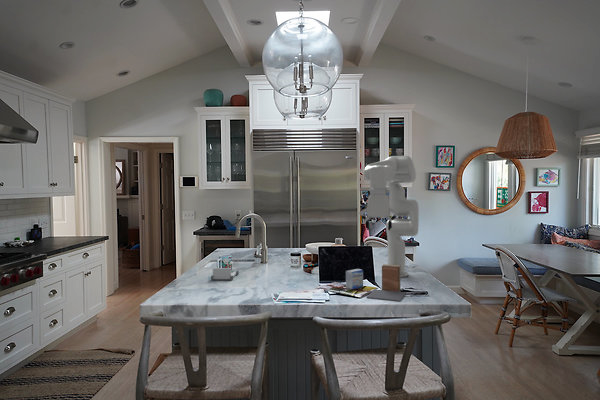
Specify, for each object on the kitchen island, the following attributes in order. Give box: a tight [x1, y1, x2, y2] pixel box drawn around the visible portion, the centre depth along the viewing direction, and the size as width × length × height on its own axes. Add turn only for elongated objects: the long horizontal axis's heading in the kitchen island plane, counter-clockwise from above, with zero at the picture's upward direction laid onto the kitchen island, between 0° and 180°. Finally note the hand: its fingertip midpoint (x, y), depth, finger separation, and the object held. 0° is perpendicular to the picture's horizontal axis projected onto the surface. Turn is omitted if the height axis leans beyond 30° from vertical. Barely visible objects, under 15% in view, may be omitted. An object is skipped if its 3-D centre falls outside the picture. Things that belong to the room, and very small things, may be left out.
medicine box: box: [345, 268, 364, 290], centre depth 198 cm, size 8×4×9 cm, turn 126°
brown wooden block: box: [381, 263, 401, 292], centre depth 191 cm, size 4×8×12 cm, turn 65°
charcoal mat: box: [366, 288, 407, 303], centre depth 183 cm, size 14×15×1 cm
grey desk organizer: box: [210, 257, 240, 282], centre depth 225 cm, size 18×10×12 cm
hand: (378, 229), depth 183 cm, fingers open, 9 cm apart
